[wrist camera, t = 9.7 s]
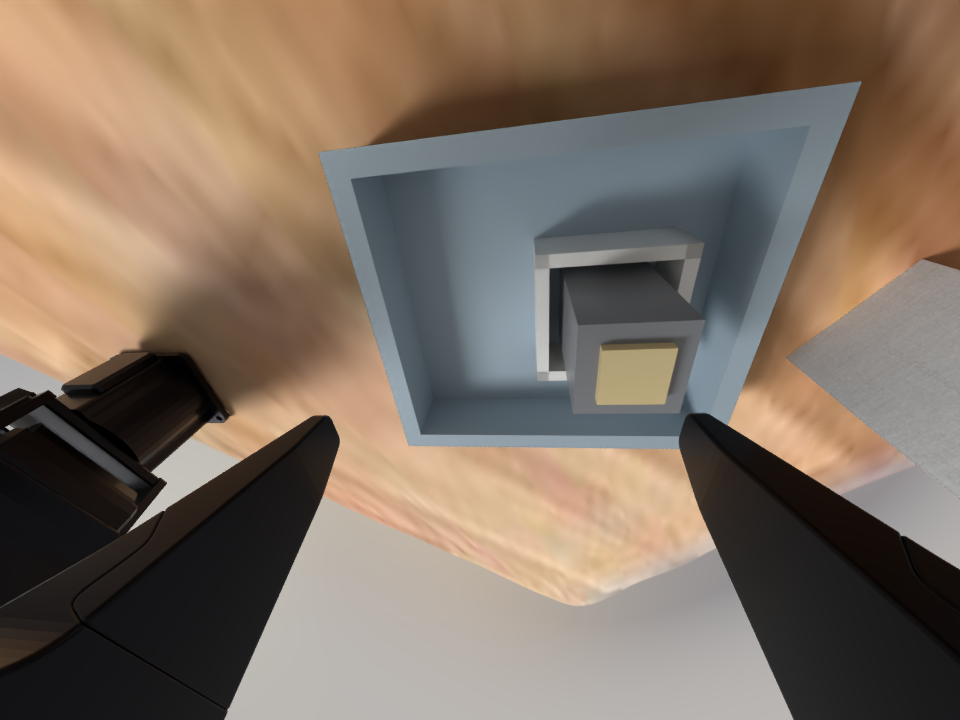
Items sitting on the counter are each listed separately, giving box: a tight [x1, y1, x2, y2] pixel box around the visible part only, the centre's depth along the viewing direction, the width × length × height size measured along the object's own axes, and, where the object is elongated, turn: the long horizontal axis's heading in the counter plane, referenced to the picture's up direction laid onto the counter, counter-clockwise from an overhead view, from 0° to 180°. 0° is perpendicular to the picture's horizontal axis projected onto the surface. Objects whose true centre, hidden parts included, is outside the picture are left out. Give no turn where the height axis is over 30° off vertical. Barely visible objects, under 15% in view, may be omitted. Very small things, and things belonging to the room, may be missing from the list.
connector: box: [559, 262, 705, 414], centre depth 15 cm, size 4×4×7 cm
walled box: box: [318, 81, 862, 449], centre depth 17 cm, size 16×18×4 cm
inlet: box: [534, 227, 704, 381], centre depth 17 cm, size 7×7×3 cm
